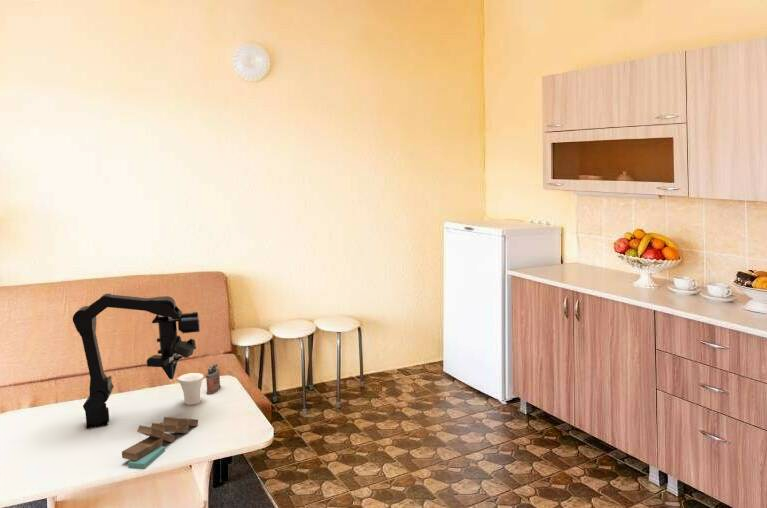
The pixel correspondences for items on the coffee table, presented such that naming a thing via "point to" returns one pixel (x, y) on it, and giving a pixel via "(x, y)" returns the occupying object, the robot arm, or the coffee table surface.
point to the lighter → (213, 379)
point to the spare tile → (146, 459)
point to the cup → (191, 387)
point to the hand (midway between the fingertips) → (171, 378)
